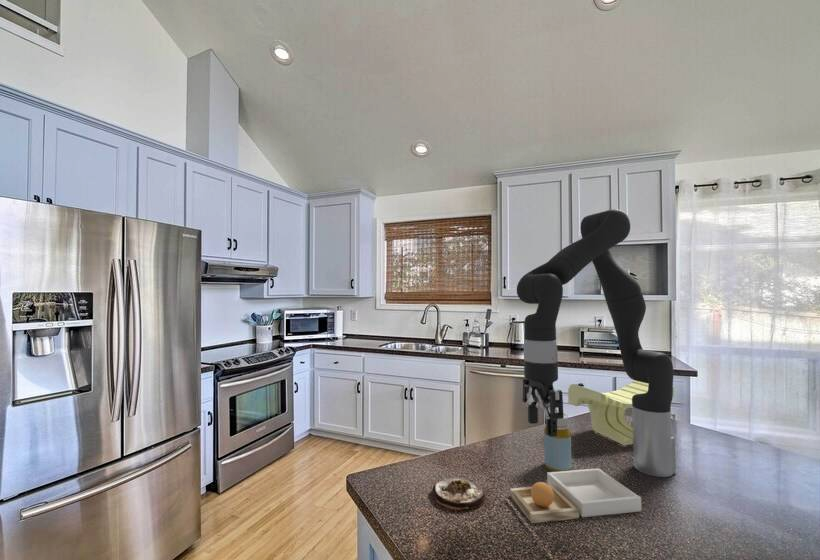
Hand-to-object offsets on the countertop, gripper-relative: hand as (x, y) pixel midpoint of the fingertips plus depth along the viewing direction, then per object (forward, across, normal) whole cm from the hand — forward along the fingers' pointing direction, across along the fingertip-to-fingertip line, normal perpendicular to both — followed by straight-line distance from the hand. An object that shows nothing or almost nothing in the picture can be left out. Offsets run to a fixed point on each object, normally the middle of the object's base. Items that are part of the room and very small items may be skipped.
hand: (542, 429), depth 87 cm
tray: (+18, 0, 0) cm, 18 cm away
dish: (+18, +2, -13) cm, 23 cm away
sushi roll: (+19, +8, +18) cm, 27 cm away
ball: (+17, 0, 0) cm, 17 cm away
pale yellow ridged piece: (+18, +38, -50) cm, 65 cm away
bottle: (+18, +18, -14) cm, 29 cm away
